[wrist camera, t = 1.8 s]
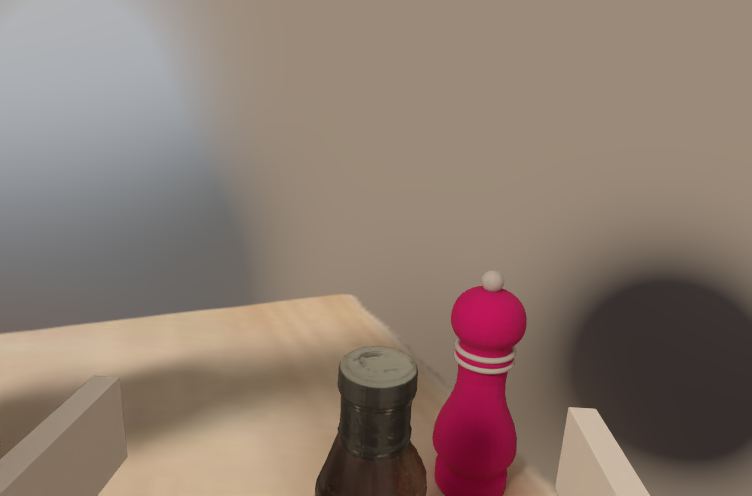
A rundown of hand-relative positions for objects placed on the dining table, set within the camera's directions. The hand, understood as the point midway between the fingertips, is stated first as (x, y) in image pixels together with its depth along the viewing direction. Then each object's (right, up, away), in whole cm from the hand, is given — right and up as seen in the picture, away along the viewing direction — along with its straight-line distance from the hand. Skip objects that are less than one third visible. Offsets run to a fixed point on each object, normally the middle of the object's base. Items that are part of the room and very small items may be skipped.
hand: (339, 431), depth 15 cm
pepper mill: (+9, -16, +32) cm, 37 cm away
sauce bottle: (0, -20, +17) cm, 26 cm away
